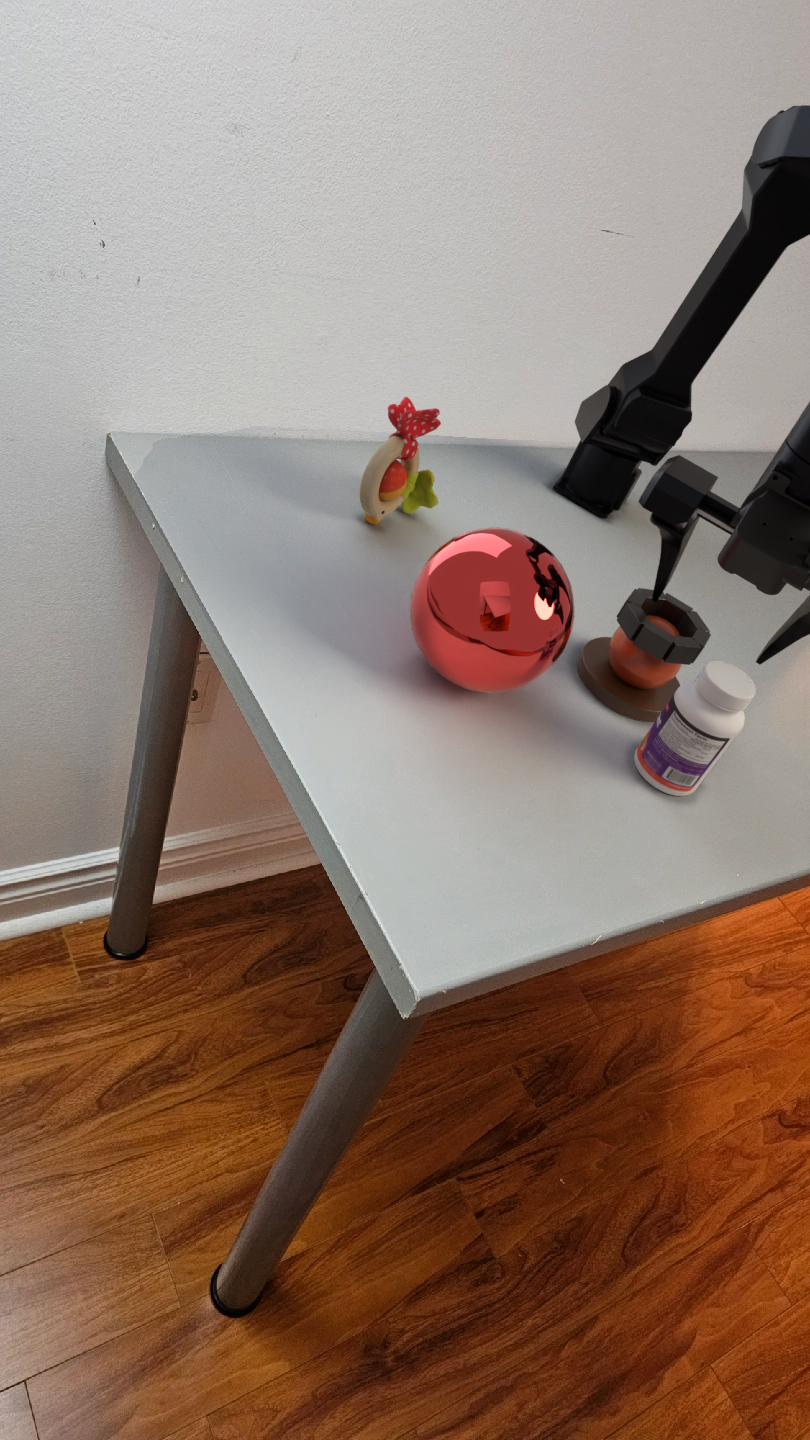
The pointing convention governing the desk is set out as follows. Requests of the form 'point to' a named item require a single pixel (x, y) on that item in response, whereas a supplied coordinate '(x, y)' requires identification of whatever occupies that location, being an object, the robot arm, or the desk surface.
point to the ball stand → (629, 674)
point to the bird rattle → (399, 466)
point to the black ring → (656, 638)
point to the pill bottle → (695, 729)
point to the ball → (492, 610)
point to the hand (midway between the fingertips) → (706, 630)
